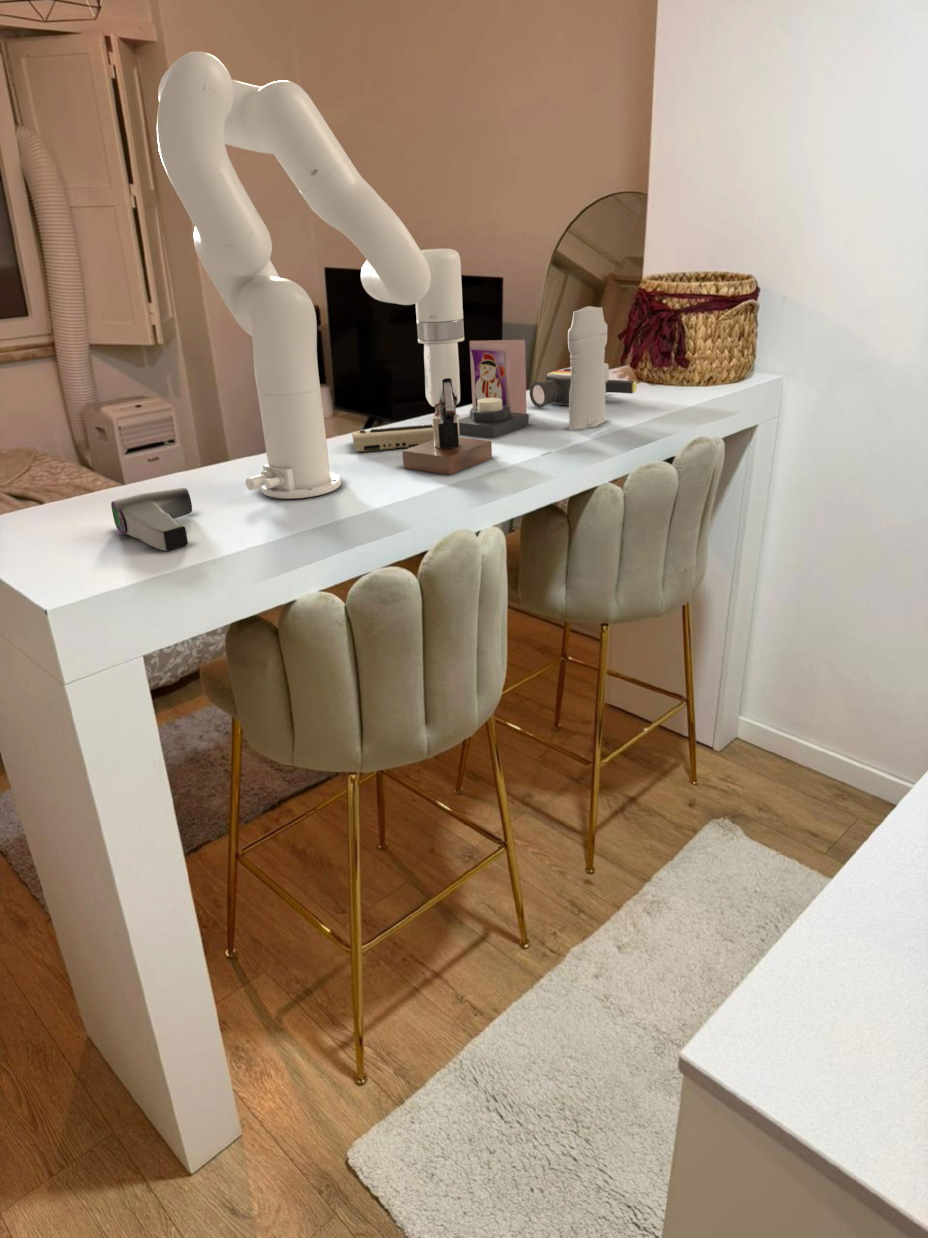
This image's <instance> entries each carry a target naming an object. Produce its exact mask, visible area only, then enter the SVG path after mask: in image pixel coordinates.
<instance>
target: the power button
mask: <svg viewBox="0 0 928 1238" xmlns="http://www.w3.org/2000/svg"><path fill="white" fill-rule="evenodd" d="M477 405H478V411H482V412H493V411H500V410H502V399H500V398H483V399H479V400H478V401H477Z"/></svg>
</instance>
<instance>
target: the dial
mask: <svg viewBox="0 0 928 1238" xmlns="http://www.w3.org/2000/svg"><path fill="white" fill-rule="evenodd" d="M456 418H457V423H458V440H459V446H460V437H461V434H460V431H459V419H460V416H459V414H458V413H456ZM438 424H440V420H439V413H435V412H434V415H433V416H432V426H433V432H434V446H435V447H436V448H440V446H439V431H438ZM452 448H455V447H452ZM443 449H447V448H443Z"/></svg>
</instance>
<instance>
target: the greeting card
mask: <svg viewBox="0 0 928 1238" xmlns="http://www.w3.org/2000/svg"><path fill="white" fill-rule="evenodd" d="M469 359H470V361H469V362H470V375H471V376H470V380H471V400H472V401H471V402H472V404H471V405H472V408H473V407H476V406H478V405H477V401H478V400H479V399H483V398H500V399H502V405H506V406H508V407H510V412H512V413H522V414H528V412H527V373H526V372H527V371H526V370H527V369H526V368H527V367H526V366H527V365H526V363H527V362H526V339H498V340H497V339H496V340H469Z"/></svg>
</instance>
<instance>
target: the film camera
mask: <svg viewBox="0 0 928 1238" xmlns="http://www.w3.org/2000/svg"><path fill="white" fill-rule="evenodd" d="M609 370H610V369H609V363H606V362H604V381H605V395H606V394H608V393H614V394H615V393H616V394H630V395H631V394H635V393H636V392H637V389H638V388H637V381H636V380H635V381H634V380H624V379H623V380H622V379H621V380H619V379H610V376H609V375H610V373H609V372H610V371H609ZM545 380H546V381H533V382H532V383H531V385H530V386H529V398H530V401H531V403H532V405H534V406H535V407H536V408H538V409H542V408H544V407H545V406H547V405H549V404H554V405H559V406H569V391H570V386H571V381H570V380H571V367H570V366H569V367H565V368H560V369H558V370H554V371H551V372H548V373H546V379H545Z"/></svg>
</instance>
